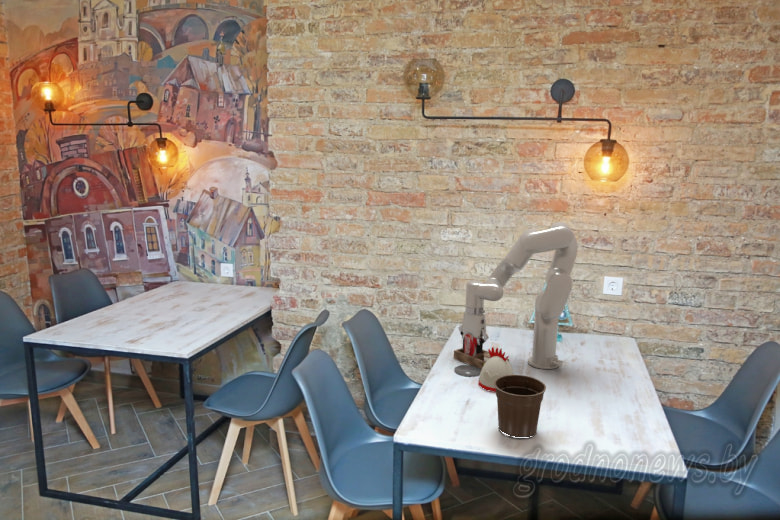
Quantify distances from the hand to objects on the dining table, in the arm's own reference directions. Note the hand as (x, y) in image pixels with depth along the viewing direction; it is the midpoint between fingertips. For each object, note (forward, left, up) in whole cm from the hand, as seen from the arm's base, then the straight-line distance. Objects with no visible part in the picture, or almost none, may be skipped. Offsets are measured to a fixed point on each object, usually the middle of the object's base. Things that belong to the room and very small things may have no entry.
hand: (472, 349), depth 256 cm
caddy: (-5, 0, -4) cm, 6 cm away
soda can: (0, 0, -5) cm, 5 cm away
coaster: (-8, +11, -4) cm, 14 cm away
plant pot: (-52, +35, -5) cm, 63 cm away
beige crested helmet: (-24, +12, -5) cm, 27 cm away
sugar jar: (-10, 0, -4) cm, 11 cm away
